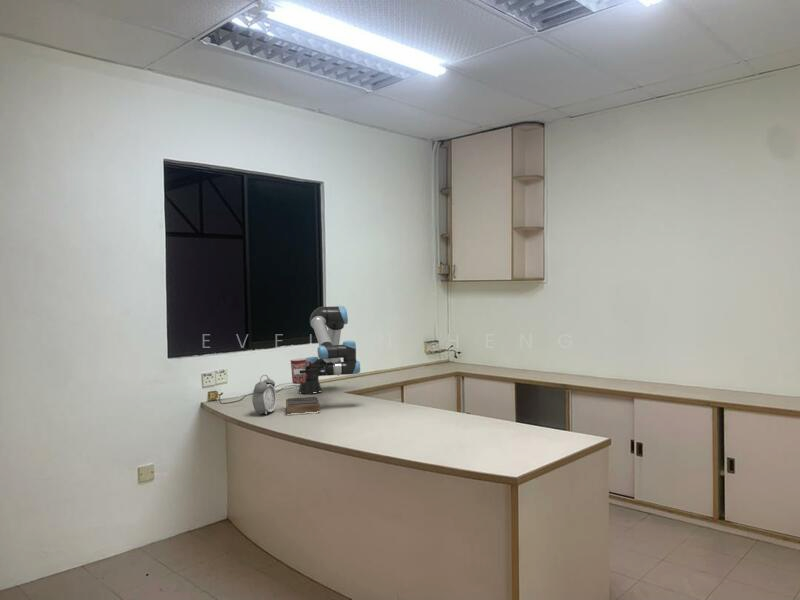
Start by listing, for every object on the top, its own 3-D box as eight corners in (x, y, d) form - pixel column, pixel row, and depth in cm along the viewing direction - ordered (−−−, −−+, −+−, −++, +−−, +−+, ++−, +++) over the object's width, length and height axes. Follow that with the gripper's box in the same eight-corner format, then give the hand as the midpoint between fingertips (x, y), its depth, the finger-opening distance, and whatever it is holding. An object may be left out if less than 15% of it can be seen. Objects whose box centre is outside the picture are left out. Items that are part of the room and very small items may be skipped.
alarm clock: (265, 417, 303) (264, 377, 303) (251, 416, 305) (250, 377, 304) (278, 410, 319) (277, 372, 319) (264, 410, 321) (263, 372, 321)
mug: (294, 384, 311) (293, 360, 310) (288, 382, 318) (287, 359, 318) (315, 382, 317) (314, 358, 317) (309, 380, 325) (308, 357, 325)
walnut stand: (286, 408, 325) (286, 398, 325) (317, 406, 329) (317, 396, 329) (287, 415, 307) (286, 404, 307) (319, 413, 311) (319, 402, 311)
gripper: (335, 378, 311) (294, 380, 306) (331, 372, 332) (292, 374, 326) (335, 364, 311) (293, 366, 306) (331, 360, 331) (292, 361, 326)
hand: (293, 370), depth 316 cm, fingers closed on mug, 8 cm apart
